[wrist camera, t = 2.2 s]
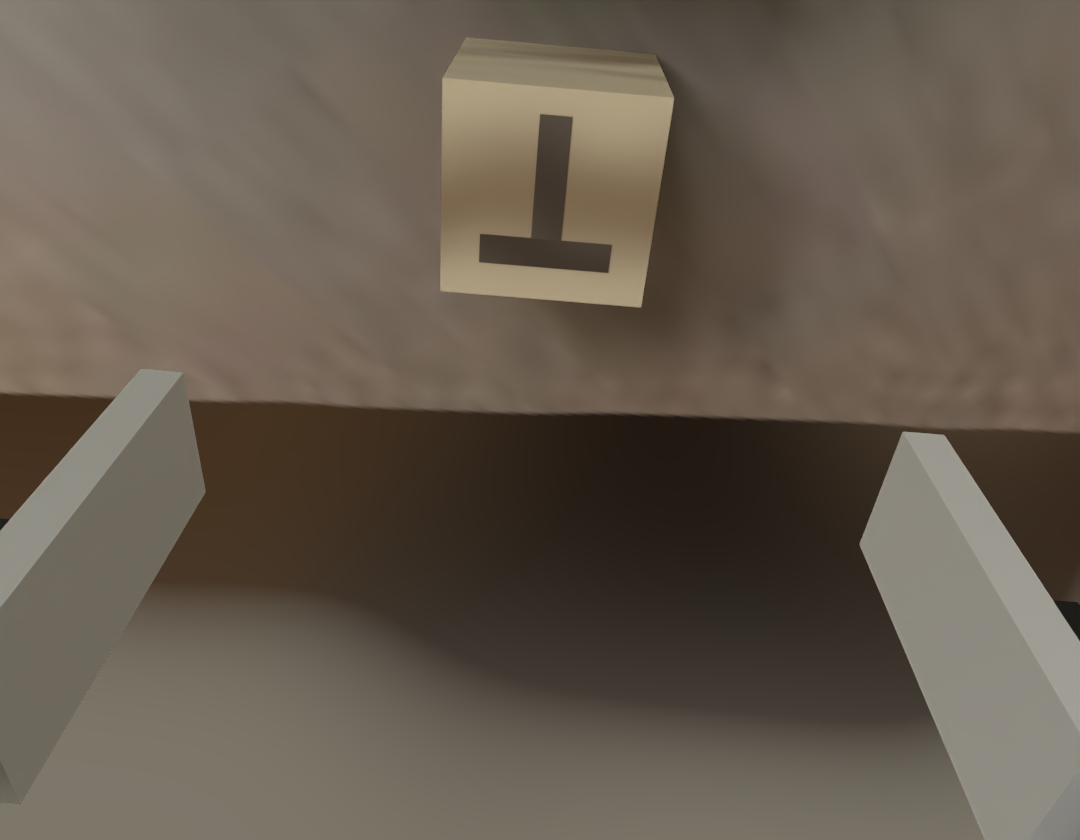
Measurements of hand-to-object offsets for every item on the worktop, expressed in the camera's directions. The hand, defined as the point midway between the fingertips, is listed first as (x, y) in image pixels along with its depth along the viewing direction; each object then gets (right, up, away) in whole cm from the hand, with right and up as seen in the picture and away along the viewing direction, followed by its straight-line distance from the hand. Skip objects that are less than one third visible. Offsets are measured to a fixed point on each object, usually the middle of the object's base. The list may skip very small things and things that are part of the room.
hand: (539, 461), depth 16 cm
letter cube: (0, +12, +17) cm, 21 cm away
